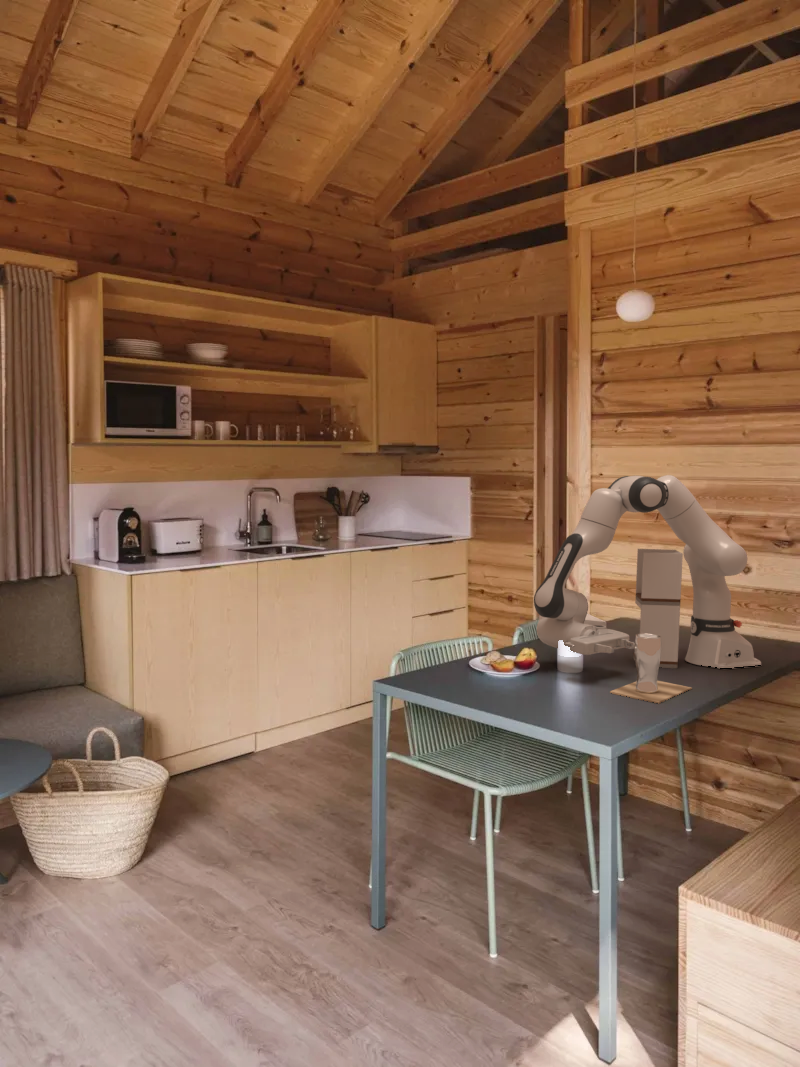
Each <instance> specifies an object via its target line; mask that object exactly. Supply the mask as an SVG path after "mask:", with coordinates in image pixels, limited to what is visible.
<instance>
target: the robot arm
mask: <svg viewBox="0 0 800 1067" xmlns="http://www.w3.org/2000/svg"><path fill="white" fill-rule="evenodd" d="M656 510H657V511H658V512H659V514H660V515H661V517H662V519H663V520H664V521H665V522H666V523H667V525H668V526H669V528H670V529H671V530H672V532H673V533H674V534H675V536H676V537H677V538H678V539H679V540H680V541H682V542H683V543H684V544H685V545H684V547H683V550H682V551H683V552H682V554H683V558H684V561H685V562H686V563H687V565H688V570H689V573H690V578H691V584H692V590H693V591H692V593H693V596H692V597H693V598H692V599H693V600H692V615H691V617H690V626H689V628H690V639H689V645H688V649H687V653H686V655H685V657H684V660H685V661H686V662H688V663H690V664H693V665H697V666H701V665H702V667H708V666H711V667H710V668H715V667H717V668H716V669H720V668H732V669H735V668H734V667H743V666H755V665H761V666H762V661H761V660H760V659H758V658H756V657H755V656H754V655H755V654H754V649H753V648H754V647H753V644H752V643H751V642H750V641H748V640H747V639H746V638H745V637H744V636H742V635H741V634H740V633H739V632H738V631H737V630H736V628H742V626H743V622H742V621H740V620H738V619H737V620H734V619H733V618H731V607H732V606H731V605H732V592H731V590H730V589H729V586H728V584H727V581H726V577H731V576H736V575H740V573H742V572H743V571H744V570H745V569H746V567H747V563H748V554H747V552H746V550H745V549H744V548H743V547H742V546H741V545H740V544H739V543H737V542H736V541H735V540H733V539H732V538H731V537H730V536H729V535H728V534H727V532H726V531H724V529H723V528H721V527H720V526H719V525H718V524H717V523H716V522H715V521H714V520H713V519H712V518H711V517H710V516H709V515H708V513H707V511H705V509H704V507H702V505H701V504H700V502H699V501H698V500H697V498H696V497H695V496H694V494H693V493H692V492H691V491H690V490H689V488H688V487H687V486H686V485H685V484H684V482H683V483H682V481H681V480H679V479H678V478H677V477H676V476H674V475H671V474H666V475H661V476H660V477H658V478H657V479H656V478H653V477H652V476H643V475H630V476H629V475H623V476H621V477H618V478H617V479H615V480H614V481H613V482H612V483H611V484H610V485H609V486H608V487H607V488H606V487H602V488H597V489H596V490H594V491H593V492H592V494H590V497H589V499H588V500H587V502H586V504H585V507H584V509H583V510H582V513H581V516H580V518H579V522H578V523H577V525H576V527H575V529H574V530H573V532H572V533H571V534H570V535H568V536H567V537H566V538H565V540H564V541H563V543H562V545H561V546H560V548H559V550H558V552H557V554H556V556H555V558H554V560H553V562H552V564H551V566H550V568H549V570H548V572H547V574H546V576H545V578H544V579H543V581H542V582H541V584H540V585H539V586H538V588H536V591H535V593H534V595H533V605H534V609H535V611H536V612H537V614H538V615H541V616H542V617H544V618H542V619H541V620H540V621H539V620H538V622H537V624H536V634H537V637H538V639H539V640H540V642H542V643H543V644H544V645H547V646H549V647H550V648H551V647H553V648H555V649H558V641H559V640H563V642H564V645H565V646H568V647H570V650H571V651H573V652H572V653H575V652H576V654H580V655H583V656H589V655H594V654H599V653H606V654H612V653H615V650H619V649H623V648H625V649H629V650H632V649H635V641H630V635H629V634H628V633H625V632H622V631H619V630H615V629H611V628H607V625H606V626H594V625H588V624H583V623H584V621H585V618H586V615H587V614H588V611H589V602H588V599H587V597H586V596H585V595H584V594H583V593H581V592H580V591H579V592H578V591H576V590H574V589H573V590H572V589H569V588H566V584H567V582H568V580H569V578H570V576H571V573H572V572H573V569H574V567H575V565H576V564H577V563H578V561H579V560H580V559H582V558H584V557H586V556H590V555H597V554H598V553H602V552H603V551H605V550H607V549H608V548H609V546H610V545H611V543H612V542H613V540H614V537H615V533H616V532H617V528H618V525H619V522H620V519H621V518H622V517H623V515H624V514H625V513H626V512H630V513H644V514H645V513H646V514H647V513H651V512H653V511H656ZM735 627H736V628H735ZM571 651H570V652H571ZM755 667H756V666H755Z"/></svg>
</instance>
